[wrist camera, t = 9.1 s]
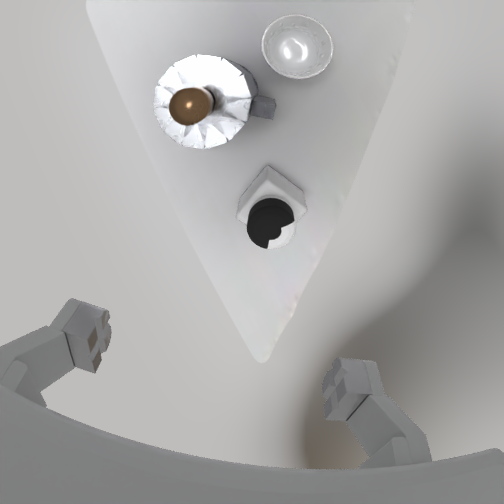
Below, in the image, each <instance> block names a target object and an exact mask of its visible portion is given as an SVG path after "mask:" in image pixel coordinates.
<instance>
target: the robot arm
mask: <svg viewBox="0 0 504 504" xmlns="http://www.w3.org/2000/svg"><path fill="white" fill-rule="evenodd" d="M109 318H110V315H109V311H108V310H107V309H104V308H100V307H98V306H95V305H91V304H88V303H85V302H82V301H79V300H76V299H73V298H71V299H69V300H68V301H67V303H66V304H65V305H64V307H63V308H62V309H61V311H60V312H59V314H58V315H57V316H56V318H55V319H54V321H53V322H52V324H51V325H50V326H49V327H48V326H44V327H42V328H40V329H38V330H36V331H33V332H31V333H29V334H27V335H25V336H22V337H20V338H18V339H16V340H14V341H12V342H9V343H7V344H5V345H3V346H1V347H0V504H504V453H503V452H502V451H501V450H500V449H497V448H493V449H489V450H485V451H481V452H477V453H473V454H468V455H464V456H459V457H454V458H449V459H444V460H438V461H432V458H431V454H430V450H429V446H428V442H427V438H426V435H425V434H424V432H423V431H422V430H421V429H420V428H419V427H418V426H417V425H416V424H415V423H414V422H413V421H412V420H411V419H410V418H409V417H408V416H407V415H406V414H405V413H404V412H403V410H401V408H400V407H398V405H397V404H396V403H395V402H394V401H393V400H392V399H391V398H390V397H389V396H385V393H384V390H383V385H382V382H381V379H380V375H379V371H378V367H377V364H376V363H375V361H367V360H357V359H348V358H339V357H338V358H336V359H335V360H334V362H333V363H332V366H333V369H331V370H329V371H328V372H327V373H326V375H325V377H324V380H323V384H322V394H323V396H324V397H325V399H326V400H327V401H326V402H325V404H324V413H325V420H334V421H346V424H347V425H348V427H349V428H350V429H351V431H352V432H353V434H354V435H355V437H356V438H357V440H358V441H359V443H360V444H361V446H362V447H363V449H364V450H365V452H366V453H367V454H368V456H369V457H370V458H369V459H367V460H366V461H365V462H364V463H362V464H361V465H360V466H359V469H338V470H337V469H336V470H329V469H328V470H327V469H326V470H325V469H293V468H279V467H267V466H257V465H249V464H241V463H233V462H227V461H221V460H215V459H208V458H203V457H198V456H193V455H188V454H184V453H179V452H175V451H171V450H166V449H162V448H158V447H154V446H151V445H147V444H143V443H140V442H136V441H133V440H130V439H127V438H123V437H120V436H117V435H114V434H111V433H108V432H105V431H102V430H99V429H97V428H94V427H91V426H89V425H86V424H83V423H81V422H78V421H76V420H73V419H71V418H68V417H66V416H64V415H61V414H59V413H57V412H54V411H52V410H50V409H48V408H46V406H47V405H46V402H45V401H44V399H43V397H42V395H41V393H40V392H41V391H42V390H43V389H45V388H46V387H48V386H49V385H51V384H52V383H53V382H55V381H57V380H58V379H59V378H61V377H62V376H64V375H65V374H66V373H68V372H70V371H71V370H72V369H74V367H77V368H80V369H83V370H86V371H89V372H92V373H96V371H97V368H98V366H99V364H100V362H101V360H102V359H101V353H103V352H105V351H106V350H107V348H108V346H109V343H110V339H111V326H110V325H109V324H108V320H109Z"/></svg>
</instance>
